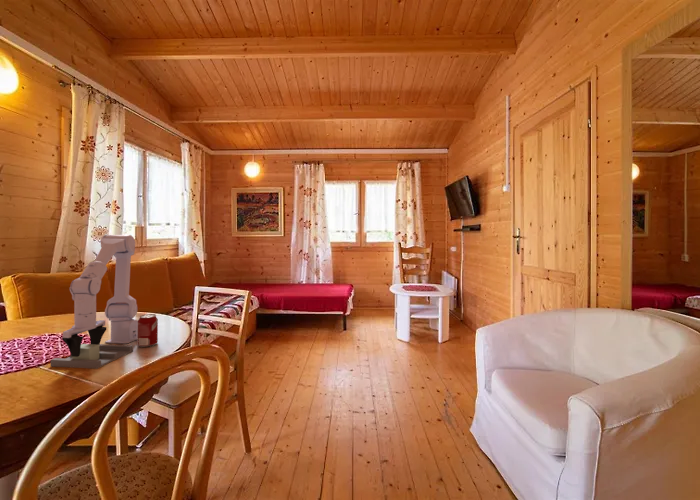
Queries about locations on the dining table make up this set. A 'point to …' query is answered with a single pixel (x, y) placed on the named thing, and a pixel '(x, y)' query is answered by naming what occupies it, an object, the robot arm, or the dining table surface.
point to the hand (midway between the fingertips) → (85, 352)
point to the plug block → (88, 352)
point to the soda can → (147, 330)
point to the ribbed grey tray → (105, 356)
